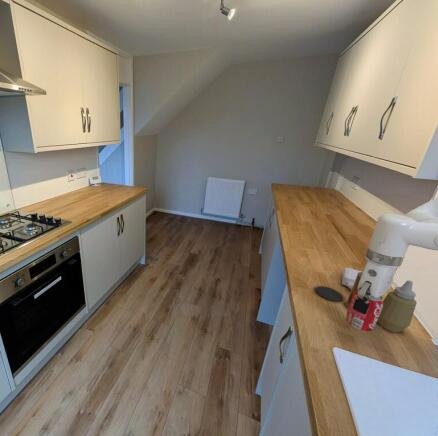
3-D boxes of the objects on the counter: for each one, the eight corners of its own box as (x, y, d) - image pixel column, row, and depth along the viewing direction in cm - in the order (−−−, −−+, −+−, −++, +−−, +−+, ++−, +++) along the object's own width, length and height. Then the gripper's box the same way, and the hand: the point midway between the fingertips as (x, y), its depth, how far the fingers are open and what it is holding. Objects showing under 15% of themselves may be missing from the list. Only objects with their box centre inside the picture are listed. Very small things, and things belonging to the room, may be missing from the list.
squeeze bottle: (395, 319, 83) (416, 276, 77) (412, 337, 76) (436, 291, 70) (367, 315, 85) (386, 272, 79) (381, 332, 78) (403, 286, 72)
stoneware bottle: (371, 311, 87) (390, 267, 81) (363, 317, 84) (382, 272, 78) (350, 300, 92) (366, 258, 86) (342, 306, 90) (358, 263, 83)
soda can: (370, 321, 78) (381, 291, 73) (375, 337, 72) (389, 304, 68) (342, 314, 81) (352, 284, 77) (346, 328, 75) (357, 296, 71)
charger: (340, 291, 98) (342, 275, 109) (369, 301, 92) (368, 283, 103) (343, 281, 96) (345, 266, 107) (373, 291, 91) (372, 274, 102)
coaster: (346, 297, 95) (347, 296, 94) (335, 304, 90) (335, 303, 90) (322, 285, 102) (322, 284, 102) (310, 291, 98) (311, 290, 98)
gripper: (388, 271, 61) (367, 325, 67) (413, 255, 69) (392, 304, 75) (353, 258, 67) (337, 309, 73) (379, 245, 75) (363, 291, 81)
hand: (365, 306), depth 74 cm, fingers closed on soda can, 7 cm apart
